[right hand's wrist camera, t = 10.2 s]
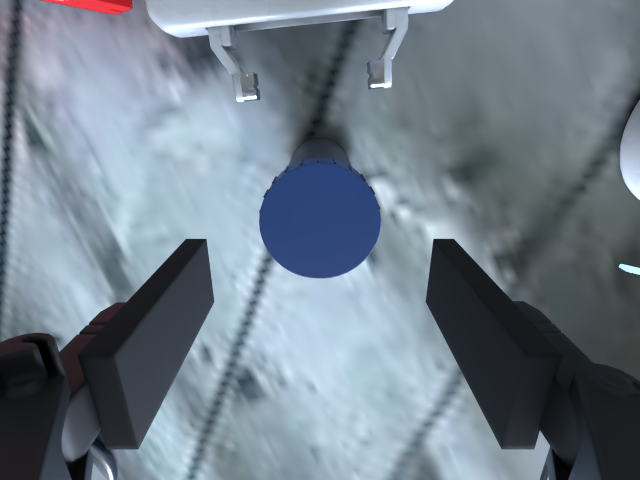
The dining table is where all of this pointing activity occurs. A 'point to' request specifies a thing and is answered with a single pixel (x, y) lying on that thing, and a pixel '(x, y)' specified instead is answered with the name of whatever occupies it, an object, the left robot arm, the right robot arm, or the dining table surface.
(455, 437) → the dining table surface
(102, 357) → the right robot arm
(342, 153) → the jar
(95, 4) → the toy gun
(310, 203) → the lid
